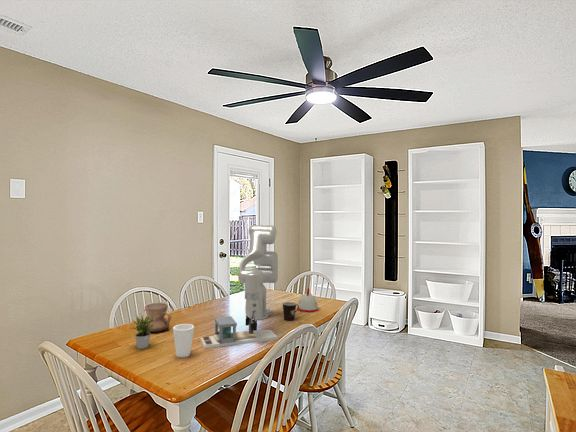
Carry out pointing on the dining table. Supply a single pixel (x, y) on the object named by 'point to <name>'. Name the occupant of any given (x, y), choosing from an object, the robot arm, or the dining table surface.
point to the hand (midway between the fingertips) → (251, 327)
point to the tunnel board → (234, 335)
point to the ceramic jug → (160, 311)
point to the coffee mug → (289, 310)
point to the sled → (239, 335)
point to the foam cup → (183, 339)
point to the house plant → (143, 331)
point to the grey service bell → (308, 303)
